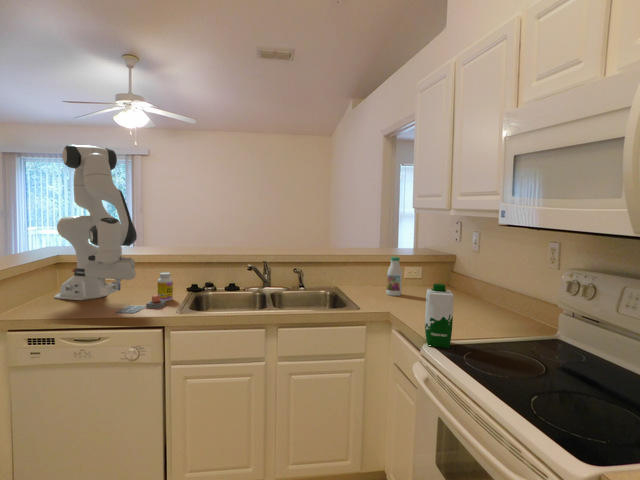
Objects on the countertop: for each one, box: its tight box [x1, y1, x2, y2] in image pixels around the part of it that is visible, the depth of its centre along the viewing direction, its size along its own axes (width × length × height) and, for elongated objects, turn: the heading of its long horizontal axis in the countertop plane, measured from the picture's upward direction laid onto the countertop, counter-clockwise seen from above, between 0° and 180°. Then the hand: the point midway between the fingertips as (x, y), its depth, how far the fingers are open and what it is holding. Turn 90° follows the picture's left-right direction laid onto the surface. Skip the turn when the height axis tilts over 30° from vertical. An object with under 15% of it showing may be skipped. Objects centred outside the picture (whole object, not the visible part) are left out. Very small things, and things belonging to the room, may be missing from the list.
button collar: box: [145, 300, 167, 309], centre depth 173 cm, size 6×6×2 cm
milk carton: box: [424, 283, 454, 349], centre depth 132 cm, size 9×9×20 cm
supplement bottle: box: [157, 272, 174, 302], centre depth 184 cm, size 7×7×13 cm
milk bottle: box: [386, 256, 403, 297], centre depth 206 cm, size 8×8×20 cm
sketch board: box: [115, 305, 146, 314], centre depth 167 cm, size 8×11×1 cm
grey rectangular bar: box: [100, 281, 121, 297], centre depth 166 cm, size 10×3×3 cm, turn 179°
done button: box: [151, 294, 160, 303], centre depth 173 cm, size 3×3×3 cm
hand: (110, 288), depth 166 cm, fingers closed on grey rectangular bar, 3 cm apart
